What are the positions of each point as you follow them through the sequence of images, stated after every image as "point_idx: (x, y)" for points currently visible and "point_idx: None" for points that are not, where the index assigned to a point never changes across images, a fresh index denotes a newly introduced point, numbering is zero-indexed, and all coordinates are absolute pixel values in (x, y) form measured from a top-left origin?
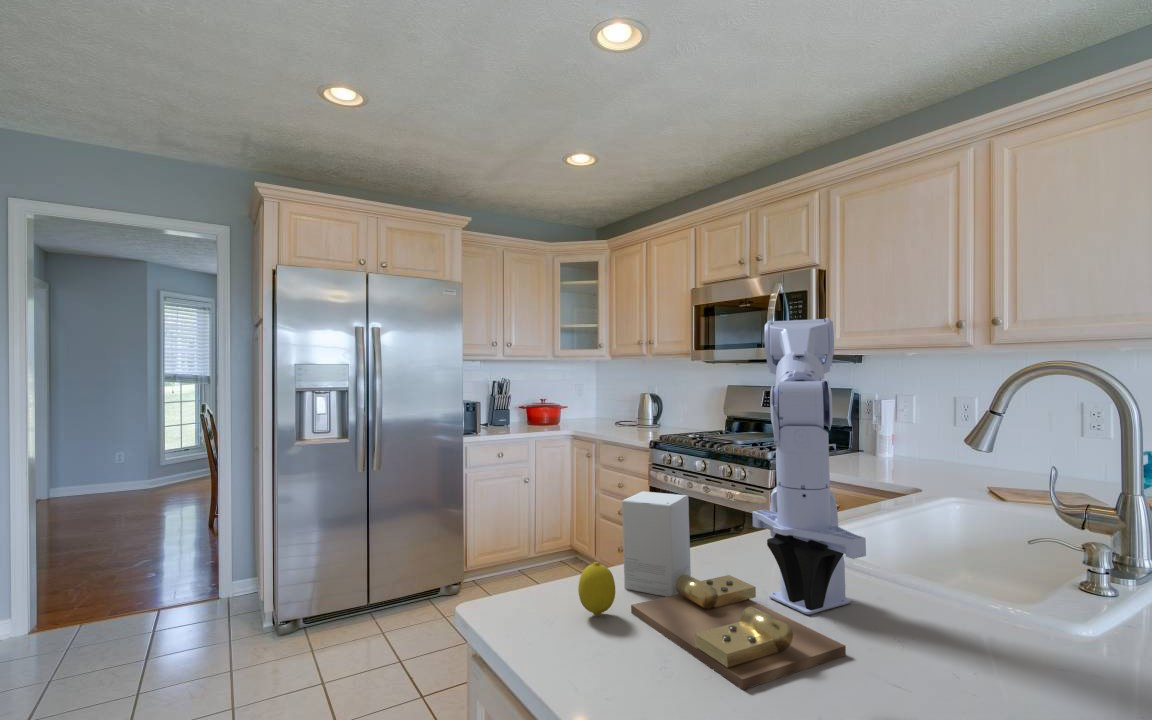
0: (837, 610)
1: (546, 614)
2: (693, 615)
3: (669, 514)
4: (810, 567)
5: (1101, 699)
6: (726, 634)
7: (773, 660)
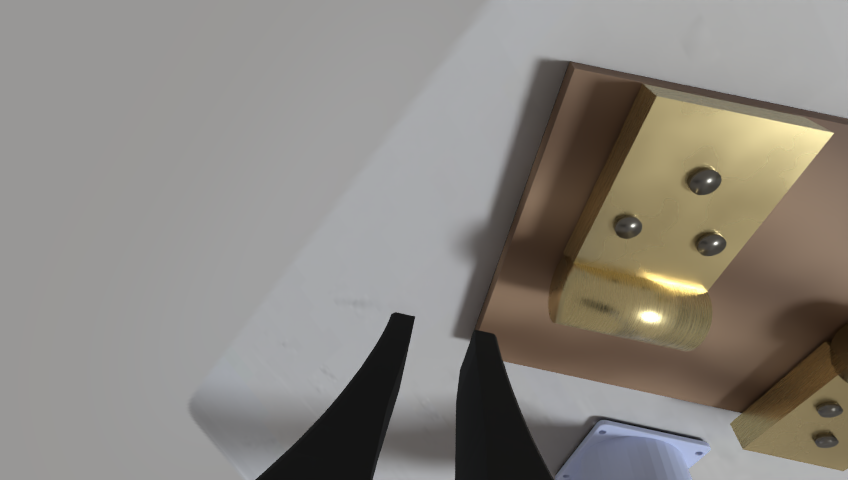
0: (563, 451)
1: None
2: None
3: None
4: (278, 468)
5: (212, 407)
6: (715, 203)
7: (555, 215)
